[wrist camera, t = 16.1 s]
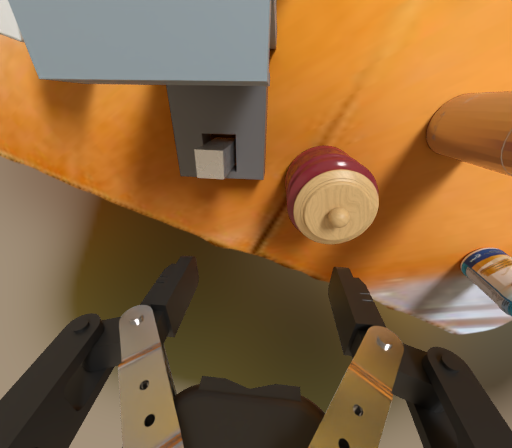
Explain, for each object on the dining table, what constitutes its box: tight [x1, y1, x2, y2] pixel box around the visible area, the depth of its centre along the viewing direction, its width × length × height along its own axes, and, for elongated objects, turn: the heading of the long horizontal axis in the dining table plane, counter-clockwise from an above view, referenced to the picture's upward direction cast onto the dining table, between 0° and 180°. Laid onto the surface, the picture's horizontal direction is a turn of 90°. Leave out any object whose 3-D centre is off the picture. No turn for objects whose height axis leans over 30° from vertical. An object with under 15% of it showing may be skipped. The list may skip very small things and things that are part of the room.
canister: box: [285, 146, 379, 244], centre depth 34 cm, size 13×13×18 cm
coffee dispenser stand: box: [8, 0, 277, 86], centre depth 24 cm, size 17×8×24 cm, turn 89°
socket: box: [166, 85, 268, 180], centre depth 36 cm, size 15×17×5 cm
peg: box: [194, 138, 236, 179], centre depth 35 cm, size 4×4×12 cm
